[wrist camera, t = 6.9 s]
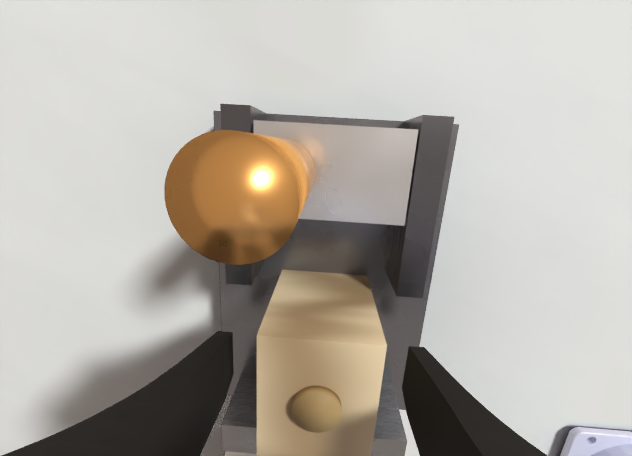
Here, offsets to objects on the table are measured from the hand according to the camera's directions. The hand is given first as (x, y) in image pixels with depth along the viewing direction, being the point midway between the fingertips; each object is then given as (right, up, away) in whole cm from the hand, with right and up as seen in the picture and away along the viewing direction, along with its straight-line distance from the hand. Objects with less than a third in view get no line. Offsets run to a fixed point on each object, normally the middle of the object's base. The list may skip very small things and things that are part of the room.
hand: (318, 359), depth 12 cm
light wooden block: (0, +1, +3) cm, 3 cm away
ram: (+1, +8, 0) cm, 8 cm away
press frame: (0, +3, +3) cm, 5 cm away
